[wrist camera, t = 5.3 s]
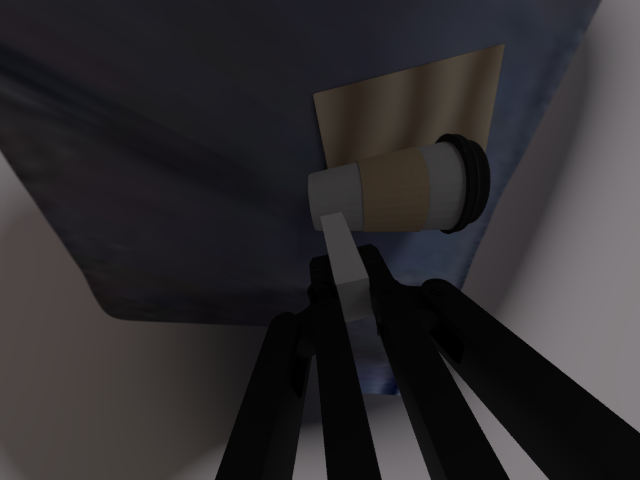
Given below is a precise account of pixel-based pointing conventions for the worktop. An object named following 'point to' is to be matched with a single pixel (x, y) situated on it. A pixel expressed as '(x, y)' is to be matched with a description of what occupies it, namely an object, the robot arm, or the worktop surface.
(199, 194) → the worktop surface
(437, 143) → the coffee cup
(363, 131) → the brown striped mat
